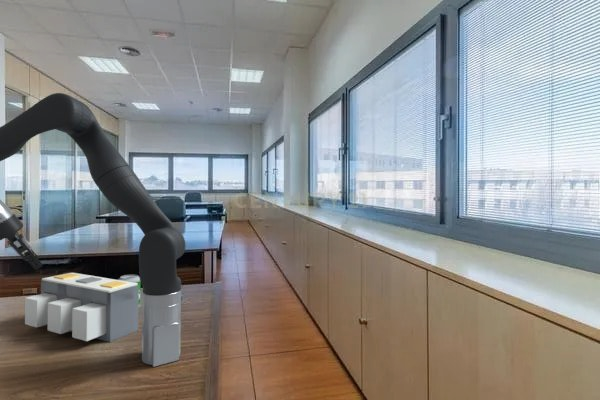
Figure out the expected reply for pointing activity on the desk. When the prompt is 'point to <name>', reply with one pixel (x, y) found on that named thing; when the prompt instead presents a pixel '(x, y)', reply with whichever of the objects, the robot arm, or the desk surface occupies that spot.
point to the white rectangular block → (38, 309)
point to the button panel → (100, 299)
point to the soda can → (132, 279)
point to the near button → (89, 321)
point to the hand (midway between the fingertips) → (37, 263)
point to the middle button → (61, 314)
